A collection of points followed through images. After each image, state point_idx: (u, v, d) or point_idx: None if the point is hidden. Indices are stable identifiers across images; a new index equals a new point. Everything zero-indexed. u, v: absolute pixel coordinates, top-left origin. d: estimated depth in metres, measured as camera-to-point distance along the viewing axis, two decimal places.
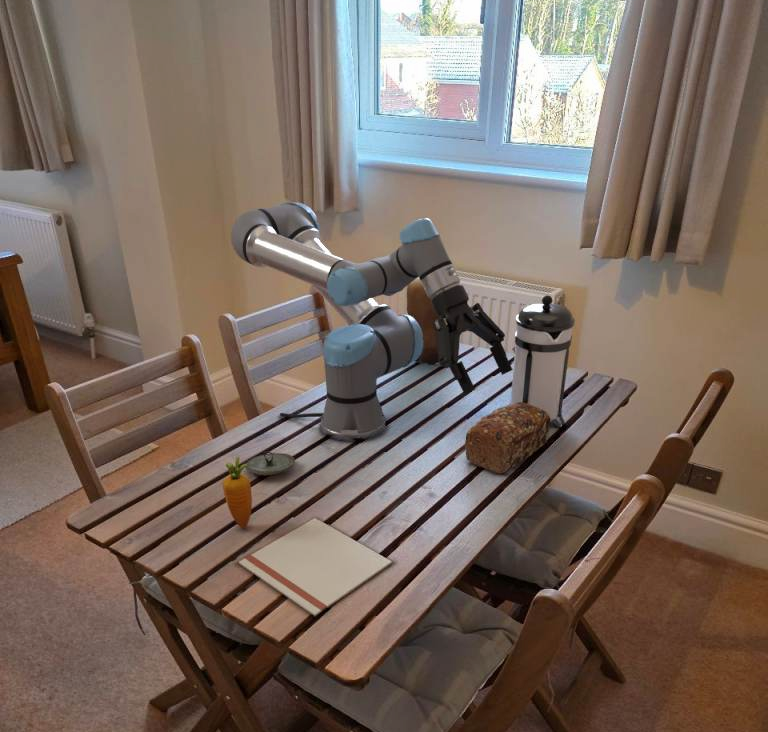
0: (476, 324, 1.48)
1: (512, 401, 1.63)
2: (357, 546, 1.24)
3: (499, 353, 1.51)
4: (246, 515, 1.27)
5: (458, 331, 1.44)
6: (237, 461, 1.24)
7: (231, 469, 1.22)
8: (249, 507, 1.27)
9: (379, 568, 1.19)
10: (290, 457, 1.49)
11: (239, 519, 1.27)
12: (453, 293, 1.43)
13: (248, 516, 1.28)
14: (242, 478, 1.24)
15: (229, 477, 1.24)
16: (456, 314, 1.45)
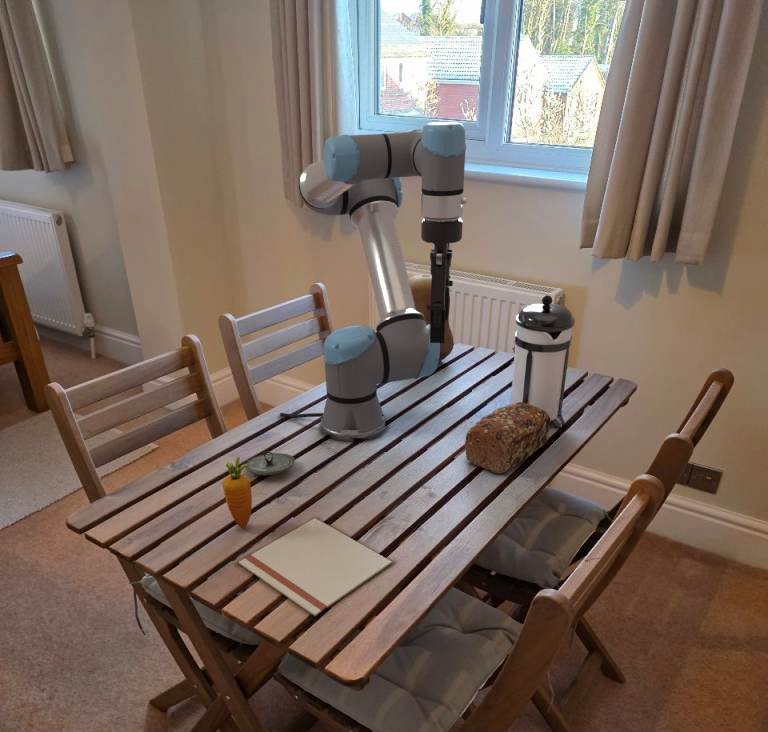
0: None
1: (512, 401, 1.63)
2: (357, 546, 1.24)
3: (444, 297, 1.40)
4: (246, 515, 1.27)
5: (448, 272, 1.27)
6: (237, 461, 1.24)
7: (231, 469, 1.22)
8: (249, 507, 1.27)
9: (379, 568, 1.19)
10: (290, 457, 1.49)
11: (239, 519, 1.27)
12: (459, 228, 1.25)
13: (248, 516, 1.28)
14: (242, 478, 1.24)
15: (229, 477, 1.24)
16: (446, 250, 1.28)
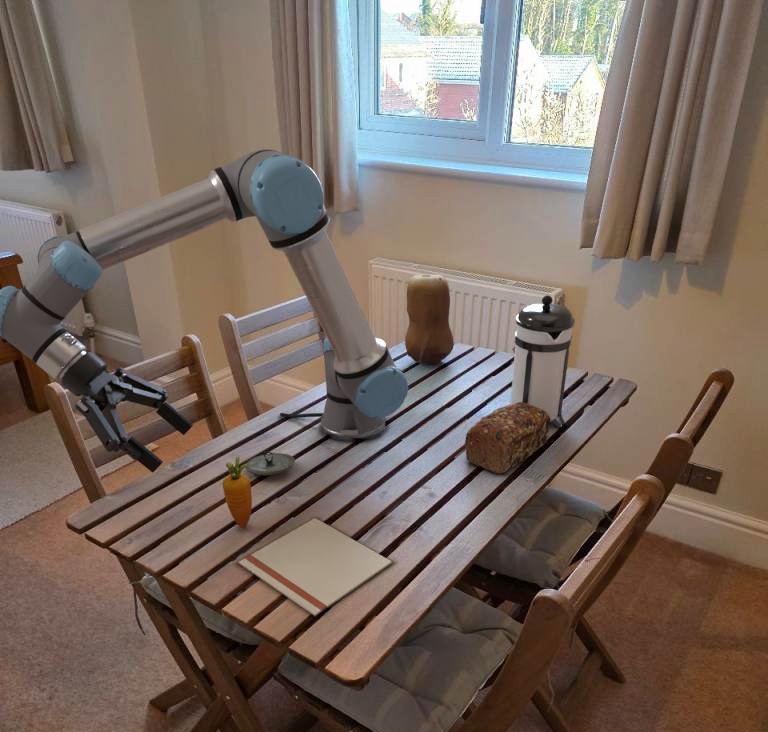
0: (129, 390, 1.21)
1: (512, 401, 1.63)
2: (357, 546, 1.24)
3: (169, 412, 1.27)
4: (246, 515, 1.27)
5: (112, 404, 1.16)
6: (237, 461, 1.24)
7: (231, 469, 1.22)
8: (249, 507, 1.27)
9: (379, 568, 1.19)
10: (290, 457, 1.49)
11: (239, 519, 1.27)
12: (85, 363, 1.14)
13: (248, 516, 1.28)
14: (242, 478, 1.24)
15: (229, 477, 1.24)
16: (100, 387, 1.17)
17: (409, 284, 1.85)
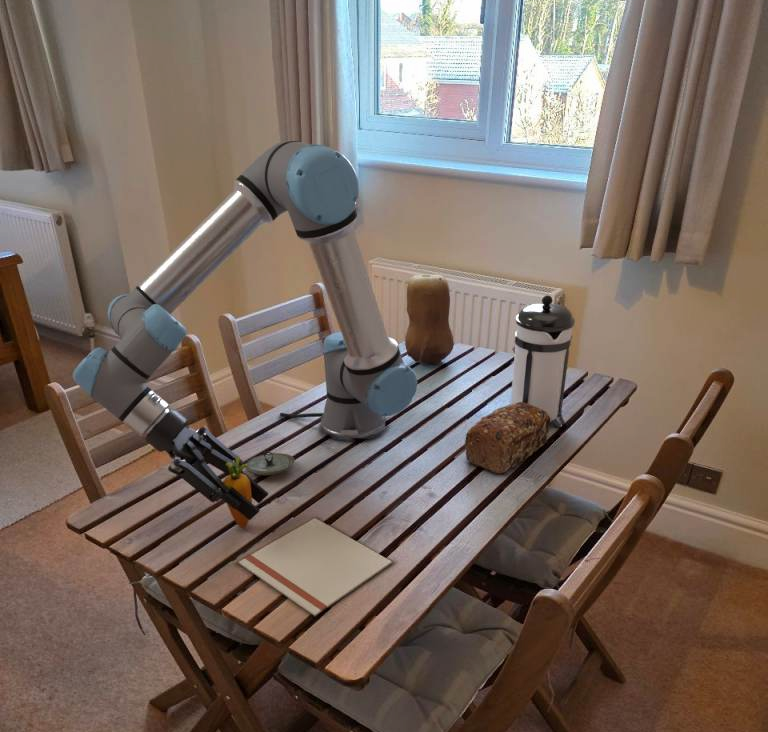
0: (207, 449, 1.24)
1: (512, 401, 1.63)
2: (357, 546, 1.24)
3: None
4: None
5: (201, 460, 1.21)
6: (237, 461, 1.24)
7: (231, 469, 1.22)
8: None
9: (379, 568, 1.19)
10: (290, 457, 1.49)
11: (239, 519, 1.27)
12: (170, 421, 1.18)
13: None
14: (242, 478, 1.24)
15: (229, 477, 1.24)
16: (183, 443, 1.21)
17: (409, 284, 1.85)
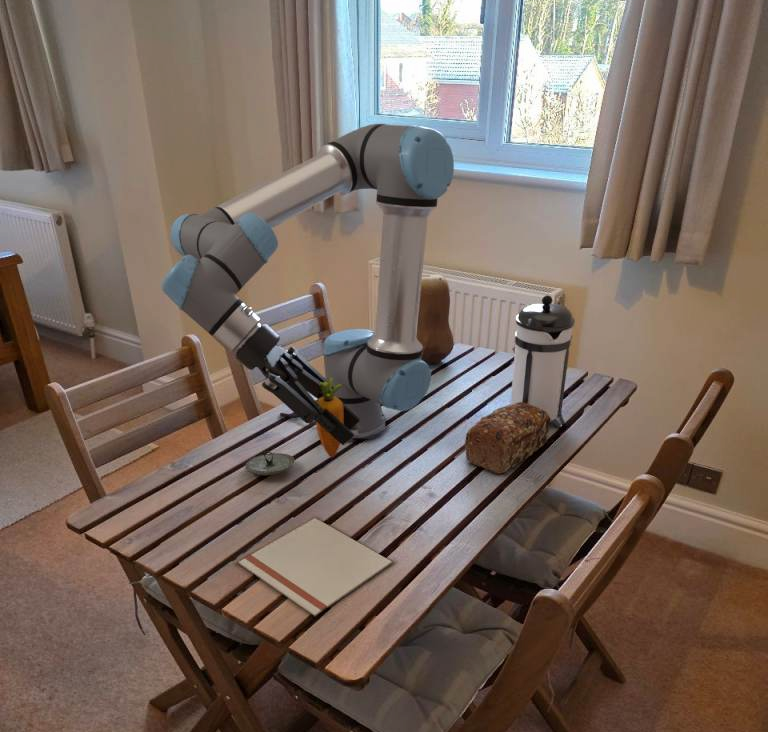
0: (298, 369, 1.16)
1: (512, 401, 1.63)
2: (357, 546, 1.24)
3: None
4: (337, 442, 1.20)
5: (295, 378, 1.13)
6: (330, 382, 1.17)
7: (325, 389, 1.14)
8: None
9: (379, 568, 1.19)
10: (290, 457, 1.49)
11: (330, 445, 1.20)
12: (264, 335, 1.10)
13: (339, 443, 1.21)
14: (336, 400, 1.17)
15: (321, 399, 1.17)
16: (275, 360, 1.13)
17: None
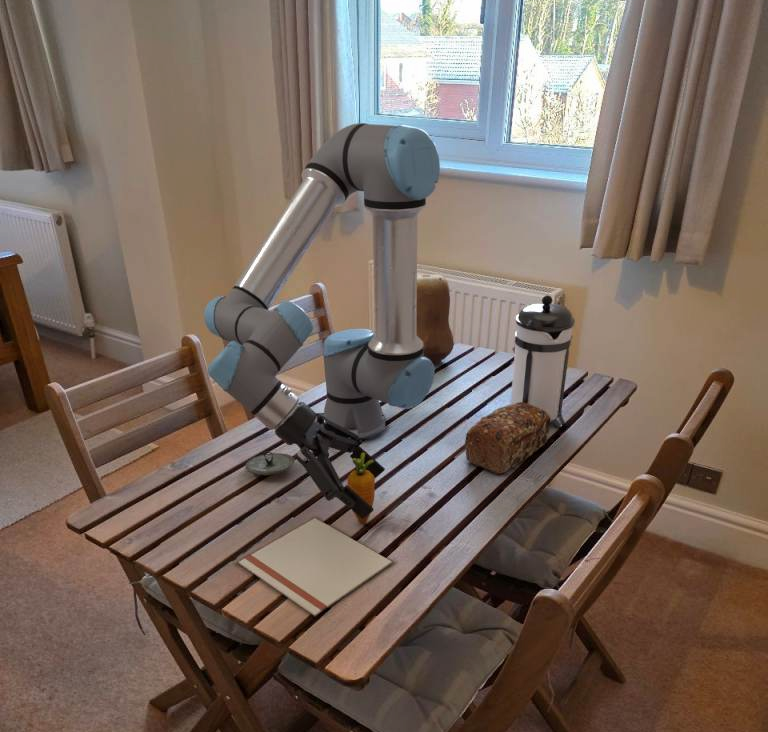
0: (333, 437, 1.25)
1: (512, 401, 1.63)
2: (357, 546, 1.24)
3: None
4: None
5: (326, 454, 1.19)
6: (363, 457, 1.24)
7: (359, 465, 1.22)
8: (372, 503, 1.27)
9: (379, 568, 1.19)
10: (290, 457, 1.49)
11: None
12: (302, 414, 1.18)
13: None
14: (368, 474, 1.24)
15: (354, 473, 1.25)
16: (312, 436, 1.21)
17: None
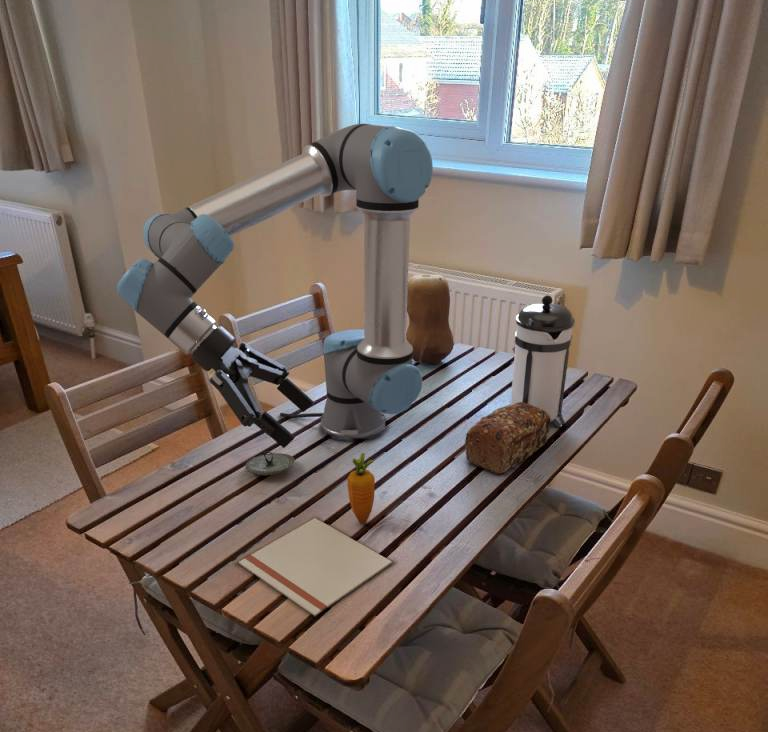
0: (255, 365, 1.20)
1: (512, 401, 1.63)
2: (357, 546, 1.24)
3: (290, 389, 1.25)
4: (368, 511, 1.28)
5: (244, 379, 1.14)
6: (362, 457, 1.24)
7: (359, 465, 1.22)
8: (372, 503, 1.27)
9: (379, 568, 1.19)
10: (290, 457, 1.49)
11: (361, 515, 1.28)
12: (218, 337, 1.13)
13: (370, 512, 1.28)
14: (368, 474, 1.24)
15: (354, 473, 1.25)
16: (231, 361, 1.15)
17: (409, 284, 1.85)
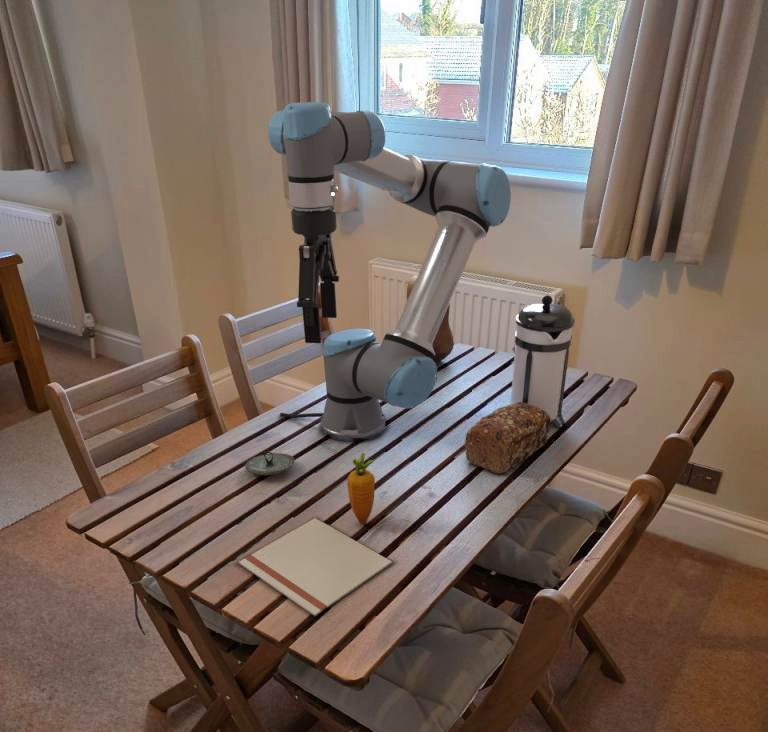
0: (327, 258, 1.23)
1: (512, 401, 1.63)
2: (357, 546, 1.24)
3: (330, 293, 1.30)
4: (368, 511, 1.28)
5: (321, 267, 1.17)
6: (363, 457, 1.24)
7: (359, 465, 1.22)
8: (372, 503, 1.27)
9: (379, 568, 1.19)
10: (290, 457, 1.49)
11: (361, 515, 1.28)
12: (330, 218, 1.15)
13: (370, 512, 1.28)
14: (368, 474, 1.24)
15: (354, 473, 1.25)
16: (320, 243, 1.18)
17: (409, 284, 1.85)
